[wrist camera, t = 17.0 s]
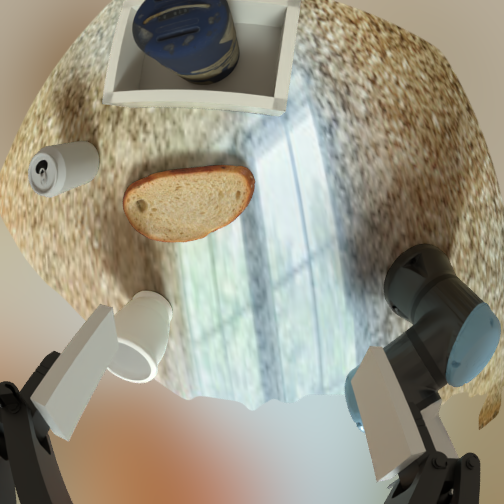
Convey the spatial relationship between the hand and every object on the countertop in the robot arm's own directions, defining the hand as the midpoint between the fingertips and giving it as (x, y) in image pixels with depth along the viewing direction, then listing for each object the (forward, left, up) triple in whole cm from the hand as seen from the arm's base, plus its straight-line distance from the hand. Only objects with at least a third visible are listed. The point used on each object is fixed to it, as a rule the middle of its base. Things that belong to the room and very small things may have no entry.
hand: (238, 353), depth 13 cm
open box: (+9, -21, -32) cm, 39 cm away
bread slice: (+10, +1, -32) cm, 34 cm away
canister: (+9, -21, -31) cm, 38 cm away
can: (+29, -4, -32) cm, 43 cm away
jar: (+16, +23, -32) cm, 42 cm away
